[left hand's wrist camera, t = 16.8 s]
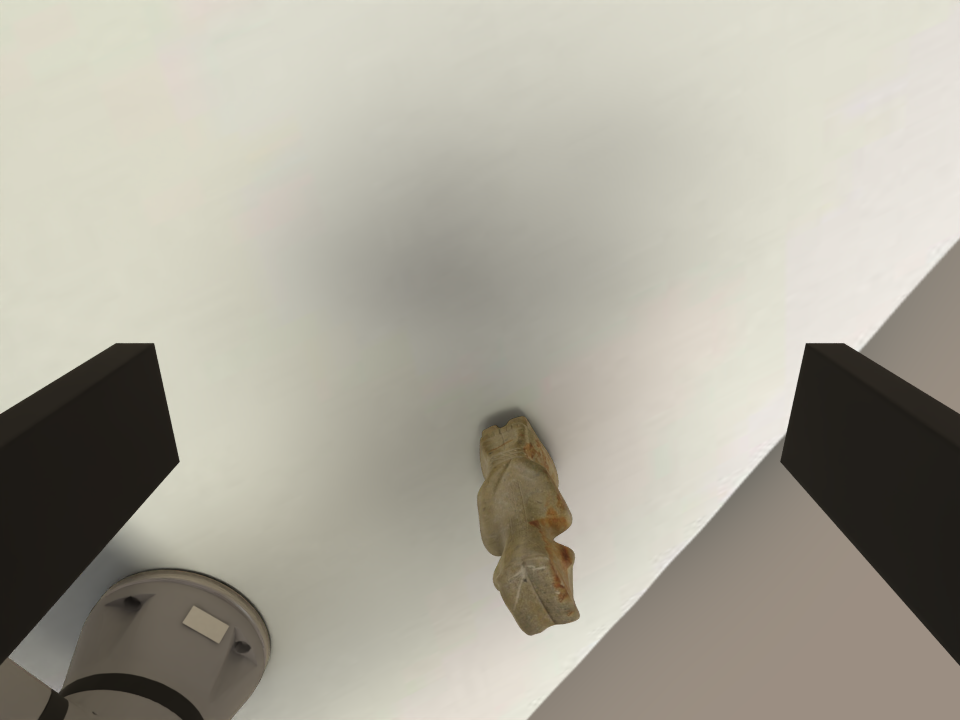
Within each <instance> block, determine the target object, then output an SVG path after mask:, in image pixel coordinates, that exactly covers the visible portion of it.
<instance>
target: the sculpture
mask: <svg viewBox="0 0 960 720" xmlns="http://www.w3.org/2000/svg"><path fill="white" fill-rule="evenodd" d="M480 462H481V468H482V472H483V476H484V479H485V481H484V483H483V485H482V486H481V488H480V490H479V492H478V495H477V505H478V512H479V521H480V531H481V537H482V541H483V544H484V546H485V547H486V549H487V550H488V551H489V552H490V553H491V554H492V555H494V556H501V558H500V560H499V563H498V565H497V567H496V569H495V571H494V574H493V583H494V586H495V587H496V589H497V590H498V591H500V594H501V596H502V598H503V600H504V602H505V604H506V606H507V607H508V609H509V610H510V612H511V613H512V615H513V617H514V619H515V620H516V622H517V624H518V625H519V627H520V628H521V629H522V631H524V632H525V633H526V634H528V635H534V634H538V633H541V632H542V631H544V630H545V629H546V628H548V627H550V626H553V625H558V624H566V623H570V622H574V621H576V620H577V619H579V617H580V614H579V611H578V609H577V607H576V604H575V601H574V598H573V571H572V570H573V564H574V560H575V554H574V552H573V551H572V550H571V549H570V548H568V547H566V546H564V545H561V544H559V543H556V542H555V541H554V540H553V539H554V538H555V537H556V536H558V535H559V534H561V533H562V532H564V531H565V530H567V529H568V528H569V527H570V525H571V524H572V515H571V512H570V510H569V508H568V506H567V504H566V502H565V500H564V499H563V497H562V495H561V493H560V492H559V490H558V484H559V482H558V474H557V471H556V468H555V465H554V463H553V461H552V459H551V457H550V455H549V454H548V452H547V450H546V449H545V447H544V446H543V445H542V443H541V442H540V440H539V439H538V437H537V435H536V434H535V432H534V430H533V428H532V427H531V425H530V423H529V422H528V420H527V419H526V418H525V417H524V416H521V417H517V418H513V419H511V420H509V421H508V423H507V424H506V425H505V426H504V427H502V428H499V427H498V426H496V425H494V426H491V427H489V428H487V429H485V430H483V432H482V438H481V439H480Z"/></svg>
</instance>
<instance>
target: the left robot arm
mask: <svg viewBox="0 0 960 720" xmlns="http://www.w3.org/2000/svg"><path fill="white" fill-rule="evenodd" d="M179 462H180V461H179V456H178V452H177V447H176V443H175V438H174V433H173V429H172V424H171V419H170V415H169V410H168V406H167V401H166V396H165V392H164V387H163V382H162V378H161V373H160V369H159V364H158V359H157V355H156V350H155V345H154V343H116V344H114V345H112V346H111V347H109V348H108V349H106V350H104V351H103V352H101V353H99V354H98V355H96V356H94V357H93V358H91V359H90V360H88V361H86V362H85V363H83V364H81V365H80V366H78V367H76V368H75V369H73V370H72V371H70V372H68V373H67V374H65V375H63V376H62V377H60V378H59V379H57V380H55V381H54V382H52V383H50V384H49V385H47V386H45V387H44V388H42V389H41V390H39V391H37V392H36V393H34V394H32V395H31V396H29V397H28V398H26V399H24V400H23V401H21V402H19V403H18V404H16V405H14V406H13V407H11V408H10V409H8V410H6V411H5V412H3V413H1V414H0V720H231V719H232V717H233V716H234V715H235V714H236V713H237V711H238V710H239V709H240V708H241V707H242V705H243V704H244V703H245V702H246V701H247V700H248V698H249V697H250V696H251V695H252V693H253V692H254V690H255V688H256V687H257V685H258V683H259V682H260V680H261V678H262V675H263V673H264V670H265V667H266V665H267V662H268V659H269V654H270V640H269V635H268V632H267V629H266V626H265V624H264V622H263V620H262V619H261V617H260V615H259V614H258V613H257V611H256V610H255V609H254V608H253V606H252V605H251V604H250V603H249V602H248V601H247V600H246V599H245V598H243V597H242V596H241V595H240V594H238V593H237V592H236V591H234V590H233V589H231V588H230V587H228V586H226V585H224V584H222V583H220V582H218V581H216V580H214V579H211V578H208V577H206V576H203V575H199V574H196V573H191V572H186V571H179V570H153V571H146V572H141V573H138V574H134V575H132V576H129V577H127V578H125V579H123V580H121V581H119V582H117V583H116V584H114V585H113V586H112V587H111V588H109V589H108V590H107V592H106V593H105V594H104V595H103V596H102V597H101V599H100V600H99V601H98V602H97V604H96V605H95V606H94V608H93V609H92V610H91V612H90V614H89V616H88V618H87V619H86V621H85V623H84V625H83V628H82V631H81V634H80V637H79V640H78V643H77V646H76V649H75V652H74V655H73V658H72V661H71V664H70V667H69V670H68V673H67V676H66V679H65V682H64V685H63V687H62V689H61V691H60V692H59V693H57V692H55V691H54V690H52V689H51V688H50V687H48V686H47V685H46V684H44V683H43V682H41V681H40V680H39V679H37V678H36V677H34V676H33V675H32V674H30V673H29V672H27V671H26V670H25V669H23V668H22V667H20V666H19V665H18V664H16V663H15V662H13V661H12V660H11V659H9V658H8V656H9V655H10V654H11V653H12V652H13V651H14V649H15V648H16V647H17V646H18V645H19V644H20V643H21V641H22V640H23V639H24V638H25V637H26V636H27V635H28V634H29V632H30V631H31V630H32V629H33V628H34V627H35V626H36V624H37V623H38V622H39V621H40V620H41V619H42V618H43V616H44V615H45V614H46V613H47V612H48V611H49V610H50V609H51V607H52V606H53V605H54V604H55V603H56V602H57V601H58V599H59V598H60V597H61V596H62V595H63V594H64V593H65V591H66V590H67V589H68V588H69V587H70V586H71V585H72V584H73V582H74V581H75V580H76V579H77V578H78V577H79V576H80V574H81V573H82V572H83V571H84V570H85V569H86V568H87V566H88V565H89V564H90V563H91V562H92V561H93V560H94V559H95V557H96V556H97V555H98V554H99V553H100V552H101V551H102V549H103V548H104V547H105V546H106V545H107V544H108V543H109V541H110V540H111V539H112V538H113V537H114V536H115V535H116V534H117V532H118V531H119V530H120V529H121V528H122V527H123V526H124V524H125V523H126V522H127V521H128V520H129V519H130V518H131V516H132V515H133V514H134V513H135V512H136V511H137V510H138V508H139V507H140V506H141V505H142V504H143V503H144V502H145V501H146V499H147V498H148V497H149V496H150V495H151V494H152V493H153V491H154V490H155V489H156V488H157V487H158V486H159V485H160V483H161V482H162V481H163V480H164V479H165V478H166V477H167V476H168V474H169V473H170V472H171V471H172V470H173V469H174V468H175V466H176V465H177V464H178V463H179ZM780 462H781V463H782V464H783V465H784V466H785V468H786V469H787V470H788V471H789V472H790V473H791V474H792V476H793V477H794V478H795V479H796V480H797V481H798V482H799V483H800V485H801V486H802V487H803V488H804V489H805V490H806V491H807V493H808V494H809V495H810V496H811V497H812V498H813V499H814V501H815V502H816V503H817V504H818V505H819V506H820V507H821V508H822V510H823V511H824V512H825V513H826V514H827V515H828V516H829V518H830V519H831V520H832V521H833V522H834V523H835V524H836V526H837V527H838V528H839V529H840V530H841V531H842V532H843V534H844V535H845V536H846V537H847V538H848V539H849V540H850V541H851V543H852V544H853V545H854V546H855V547H856V548H857V549H858V551H859V552H860V553H861V554H862V555H863V556H864V557H865V558H866V560H867V561H868V562H869V563H870V564H871V565H872V566H873V568H874V569H875V570H876V571H877V572H878V573H879V574H880V576H881V577H882V578H883V579H884V580H885V581H886V582H887V583H888V585H889V586H890V587H891V588H892V589H893V590H894V591H895V593H896V594H897V595H898V596H899V597H900V598H901V599H902V601H903V602H904V603H905V604H906V605H907V606H908V607H909V608H910V610H911V611H912V612H913V613H914V614H915V615H916V616H917V618H918V619H919V620H920V621H921V622H922V623H923V624H924V626H925V627H926V628H927V629H928V630H929V631H930V632H931V634H932V635H933V636H934V637H935V638H936V639H937V640H938V641H939V643H940V644H941V645H942V646H943V647H944V648H945V649H946V651H947V652H948V653H949V654H950V655H951V656H952V657H953V658H954V660H955V661H956V662H957V663H958V664H959V665H960V414H959V413H957V412H955V411H954V410H952V409H950V408H949V407H947V406H946V405H944V404H942V403H941V402H939V401H937V400H936V399H934V398H932V397H931V396H929V395H928V394H926V393H924V392H923V391H921V390H919V389H918V388H916V387H915V386H913V385H911V384H910V383H908V382H906V381H905V380H903V379H901V378H900V377H898V376H896V375H895V374H893V373H892V372H890V371H888V370H887V369H885V368H883V367H882V366H880V365H879V364H877V363H875V362H874V361H872V360H870V359H869V358H867V357H866V356H864V355H862V354H861V353H859V352H857V351H856V350H854V349H852V348H851V347H849V346H848V345H846V344H844V343H806V345H805V350H804V355H803V359H802V364H801V369H800V373H799V378H798V382H797V387H796V392H795V396H794V401H793V406H792V410H791V415H790V419H789V424H788V429H787V433H786V438H785V443H784V447H783V452H782V456H781V461H780Z"/></svg>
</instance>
